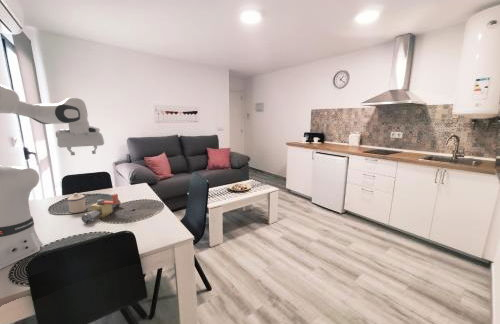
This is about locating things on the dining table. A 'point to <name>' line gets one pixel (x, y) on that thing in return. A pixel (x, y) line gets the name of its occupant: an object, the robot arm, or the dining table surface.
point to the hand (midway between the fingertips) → (83, 154)
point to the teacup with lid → (77, 203)
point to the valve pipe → (99, 211)
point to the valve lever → (114, 202)
